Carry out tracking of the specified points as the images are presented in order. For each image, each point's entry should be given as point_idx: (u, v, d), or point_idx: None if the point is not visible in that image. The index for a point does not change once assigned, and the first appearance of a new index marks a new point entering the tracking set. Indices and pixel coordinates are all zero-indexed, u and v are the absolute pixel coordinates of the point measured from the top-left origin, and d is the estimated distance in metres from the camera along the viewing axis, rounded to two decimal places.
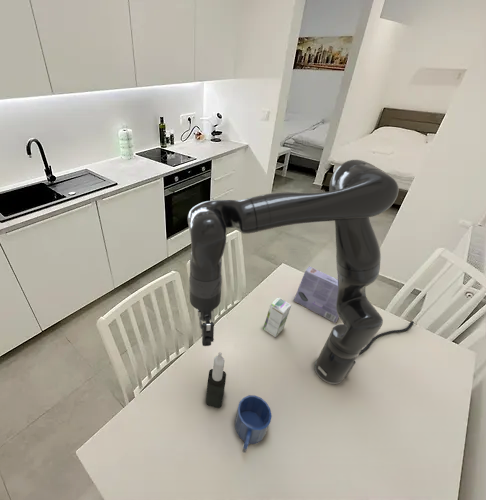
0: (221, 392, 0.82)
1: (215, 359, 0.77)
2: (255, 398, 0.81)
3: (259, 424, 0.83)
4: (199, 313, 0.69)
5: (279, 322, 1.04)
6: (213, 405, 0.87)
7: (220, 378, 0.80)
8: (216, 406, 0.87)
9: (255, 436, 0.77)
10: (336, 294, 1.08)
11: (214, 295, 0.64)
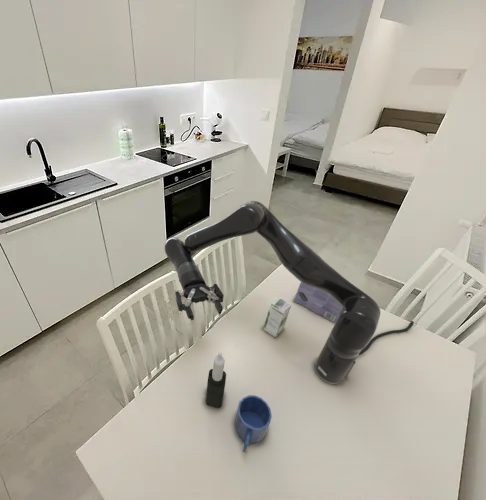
0: (221, 392, 0.82)
1: (215, 359, 0.77)
2: (255, 398, 0.81)
3: (259, 424, 0.83)
4: None
5: (279, 322, 1.04)
6: (213, 405, 0.87)
7: (220, 378, 0.80)
8: (216, 406, 0.87)
9: (255, 436, 0.77)
10: None
11: (180, 276, 0.92)
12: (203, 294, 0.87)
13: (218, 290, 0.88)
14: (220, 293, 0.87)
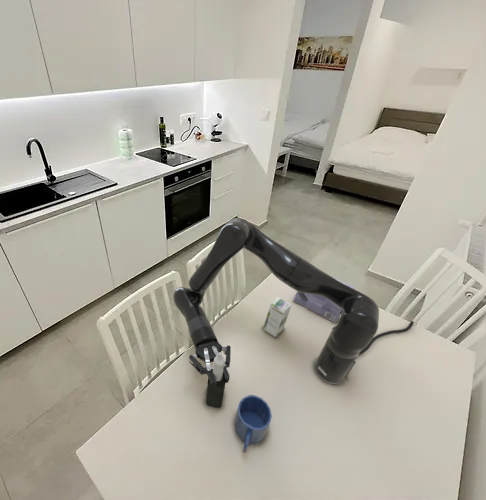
0: (221, 392, 0.82)
1: (215, 359, 0.77)
2: (255, 398, 0.81)
3: (259, 424, 0.83)
4: None
5: (279, 322, 1.04)
6: (213, 405, 0.87)
7: (220, 378, 0.80)
8: (216, 406, 0.87)
9: (255, 436, 0.77)
10: None
11: (192, 332, 0.90)
12: (212, 354, 0.85)
13: (228, 354, 0.85)
14: (228, 358, 0.83)
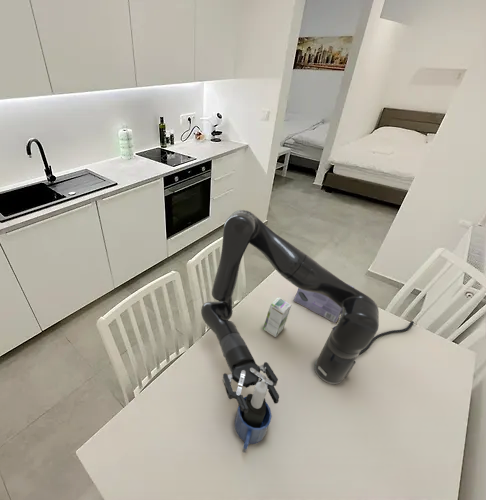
0: (261, 420, 0.75)
1: (257, 386, 0.70)
2: None
3: None
4: None
5: (279, 322, 1.04)
6: None
7: (260, 405, 0.74)
8: None
9: (255, 436, 0.77)
10: None
11: (226, 351, 0.83)
12: (254, 377, 0.77)
13: (270, 371, 0.79)
14: (273, 376, 0.78)
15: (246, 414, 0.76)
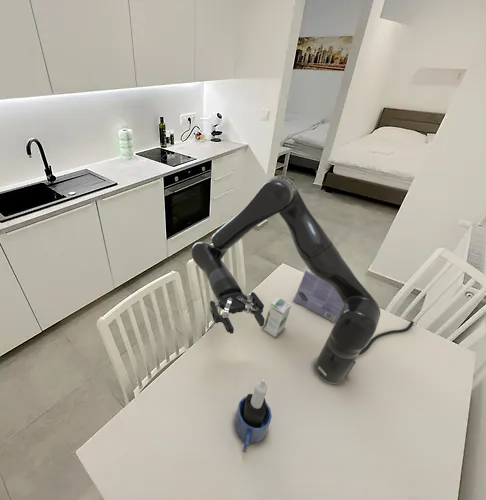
0: (261, 420, 0.75)
1: (257, 386, 0.70)
2: None
3: None
4: None
5: (279, 322, 1.04)
6: None
7: (260, 405, 0.74)
8: None
9: (255, 436, 0.77)
10: (336, 294, 1.08)
11: (213, 283, 0.84)
12: (241, 304, 0.78)
13: (257, 299, 0.79)
14: (260, 303, 0.78)
15: (246, 414, 0.76)
